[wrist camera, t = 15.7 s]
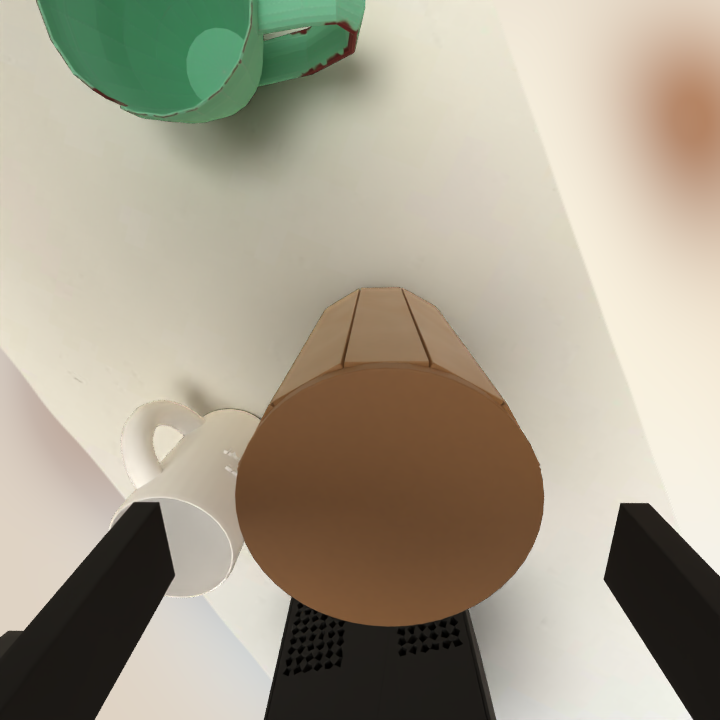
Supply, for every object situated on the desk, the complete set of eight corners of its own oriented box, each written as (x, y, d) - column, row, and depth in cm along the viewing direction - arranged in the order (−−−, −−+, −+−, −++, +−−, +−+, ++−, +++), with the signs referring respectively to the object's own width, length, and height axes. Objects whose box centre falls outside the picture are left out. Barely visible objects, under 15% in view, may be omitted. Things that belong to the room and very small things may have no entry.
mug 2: (215, 352, 34) (133, 417, 22) (298, 460, 37) (263, 566, 25) (142, 400, 35) (31, 483, 24) (227, 500, 38) (164, 616, 27)
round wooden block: (304, 288, 27) (215, 369, 12) (458, 286, 27) (565, 366, 12) (313, 425, 31) (251, 624, 15) (450, 425, 30) (527, 629, 15)
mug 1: (165, 156, 29) (65, 124, 20) (135, -14, 26) (-2, -149, 17) (371, 144, 28) (369, 104, 19) (364, -32, 25) (358, -185, 16)
